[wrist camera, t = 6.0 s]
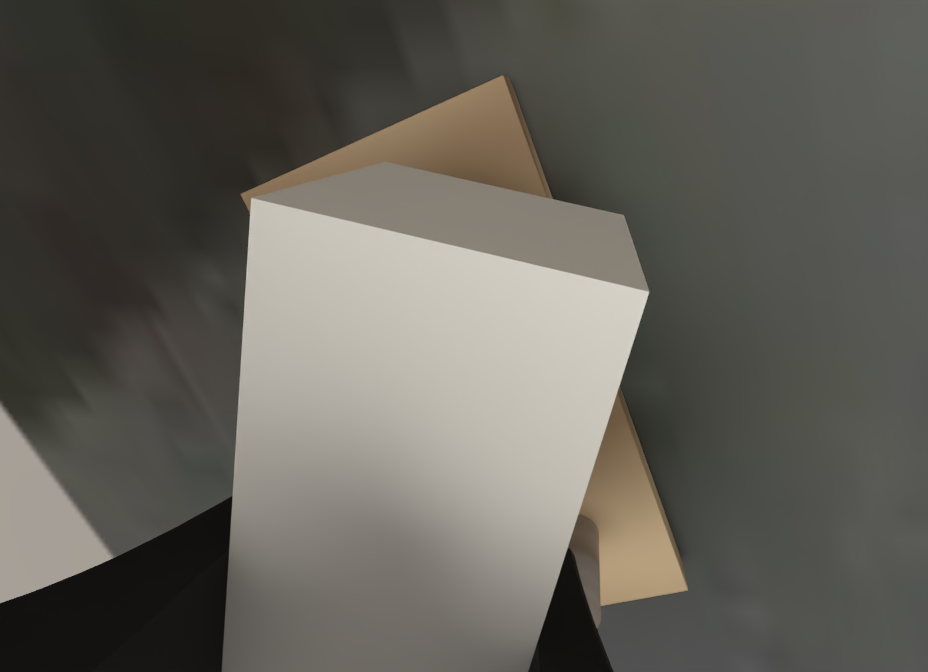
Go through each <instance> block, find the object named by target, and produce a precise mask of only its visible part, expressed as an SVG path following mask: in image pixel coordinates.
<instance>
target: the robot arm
mask: <svg viewBox="0 0 928 672" xmlns="http://www.w3.org/2000/svg"><path fill="white" fill-rule="evenodd" d="M232 498H233V496H231V497H230V498H228V499H226V500H224V501H223V502H221V503H219V504H217V505H216V506H214V507H212V508H210V509H209V510H207V511H205V512H203V513H201V514H199V515H198V516H196V517H194V518H192V519H190V520H188V521H187V522H185V523H183V524H181V525H179V526H178V527H176V528H174V529H172V530H170V531H168V532H166V533H164V534H162V535H160V536H158V537H156V538H154V539H152V540H150V541H148V542H146V543H144V544H142V545H140V546H138V547H136V548H134V549H132V550H130V551H128V552H126V553H124V554H122V555H120V556H117V557H115V558H113V559H111V560H109V561H106V562H104V563H102V564H100V565H98V566H95V567H93V568H91V569H88V570H86V571H84V572H81V573H79V574H77V575H74V576H72V577H69V578H66V579H64V580H62V581H59V582H57V583H54V584H52V585H49V586H47V587H44V588H42V589H39V590H36V591H34V592H31V593H29V594H26V595H23V596H20V597H17V598H14V599H11V600H9V601H6V602H3V603H0V672H222V658H223V642H224V626H225V610H226V594H227V578H228V562H229V546H230V530H231V514H232ZM528 672H613V670H612V667H611V664H610V662H609V659H608V657H607V654H606V652H605V649H604V646H603V644H602V641H601V639H600V636H599V633H598V631H597V628H596V625H595V622H594V620H593V617H592V614H591V611H590V608H589V605H588V602H587V599H586V595H585V592H584V589H583V586H582V582H581V579H580V575H579V571H578V568H577V564H576V559H575V556H574V554H573V552H572V551H571V549H570V548H567V552H566V555H565V558H564V561H563V564H562V567H561V570H560V574H559V577H558V580H557V583H556V586H555V589H554V592H553V595H552V599H551V602H550V605H549V608H548V611H547V614H546V617H545V621H544V624H543V627H542V630H541V633H540V636H539V639H538V642H537V646H536V649H535V652H534V655H533V658H532V661H531V664H530V668H529V671H528Z"/></svg>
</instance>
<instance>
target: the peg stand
mask: <svg viewBox="0 0 928 672" xmlns="http://www.w3.org/2000/svg"><path fill="white" fill-rule="evenodd" d="M383 162H389V163H394V164H398V165H402V166H407V167H411V168H416V169H420V170H425V171H429V172H434V173H438V174H443V175H447V176H452V177H456V178H461V179H465V180H469V181H474V182H478V183H483V184H487V185H492V186H496V187H501V188H505V189H510V190H514V191H519V192H523V193H527V194H532V195H536V196H541V197H545V198H550V199H553V198H552V195H551V192H550V189H549V187H548V184H547V181H546V178H545V175H544V173H543V170H542V167H541V164H540V161H539V159H538V156H537V153H536V150H535V147H534V145H533V142H532V139H531V136H530V133H529V131H528V128H527V125H526V122H525V119H524V117H523V114H522V111H521V108H520V105H519V103H518V100H517V97H516V94H515V91H514V89H513V86H512V83H511V80H510V78H509V77H507V76H504V75H502V76H500V77H498V78H496V79H493V80H491V81H489V82H487V83H484V84H482V85H480V86H478V87H476V88H473V89H471V90H469V91H467V92H465V93H462V94H460V95H458V96H456V97H454V98H451V99H449V100H447V101H445V102H443V103H440V104H438V105H436V106H434V107H432V108H429V109H427V110H425V111H423V112H421V113H418V114H416V115H414V116H412V117H410V118H407V119H405V120H403V121H401V122H399V123H396V124H394V125H392V126H390V127H388V128H385V129H383V130H381V131H379V132H376V133H374V134H372V135H370V136H368V137H365V138H363V139H361V140H359V141H357V142H354V143H352V144H350V145H348V146H346V147H343V148H341V149H339V150H337V151H335V152H332V153H330V154H328V155H326V156H324V157H321V158H319V159H317V160H315V161H313V162H310V163H308V164H306V165H304V166H302V167H299V168H297V169H295V170H293V171H291V172H288V173H286V174H284V175H282V176H280V177H277V178H275V179H273V180H271V181H269V182H266V183H264V184H262V185H260V186H257V187H255V188H253V189H251V190H249V191H246V192H244V193H242V194H241V196H242V198H243V200H244V202H245V204H246V206H247V208H248V210H249V212H250V209H251V198H253V197H257V196H260V195H264V194H268V193H272V192H275V191H279V190H283V189H287V188H290V187H294V186H298V185H301V184H305V183H309V182H313V181H316V180H320V179H324V178H327V177H331V176H335V175H339V174H342V173H346V172H350V171H353V170H357V169H361V168H365V167H368V166H372V165H376V164H379V163H383ZM568 548H570V549H571V551H572V552H573V554H574V556H575V559H576V564H577V568H578V571H579V575H580V579H581V582H582V586H583V589H584V592H585V595H586V599H587V602H588V605H589V608H590V611H591V614H592V617H593V620H594V622H595V625H596V628H598V627H599V625H600V622H601V606H603V605H608V604H614V603H620V602H625V601H631V600H636V599H642V598H648V597H653V596H659V595H664V594H670V593H676V592H681V591H687V590H688V587H687V583H686V578H685V573H684V568H683V563H682V559H681V557H680V554H679V551H678V548H677V545H676V543H675V540H674V537H673V534H672V531H671V529H670V526H669V523H668V520H667V517H666V515H665V512H664V509H663V506H662V503H661V500H660V498H659V495H658V492H657V489H656V486H655V484H654V481H653V478H652V475H651V472H650V470H649V467H648V464H647V461H646V458H645V456H644V453H643V450H642V447H641V444H640V442H639V439H638V436H637V433H636V430H635V428H634V425H633V422H632V419H631V416H630V414H629V411H628V408H627V405H626V402H625V400H624V397H623V394H622V391H621V388H620V386H619V389H618V392H617V395H616V398H615V401H614V404H613V408H612V411H611V414H610V417H609V420H608V423H607V426H606V429H605V433H604V436H603V439H602V442H601V445H600V448H599V451H598V455H597V458H596V461H595V464H594V467H593V470H592V473H591V476H590V480H589V483H588V486H587V489H586V492H585V495H584V498H583V501H582V505H581V508H580V511H579V514H578V517H577V520H576V523H575V527H574V530H573V533H572V536H571V539H570V542H569V545H568Z"/></svg>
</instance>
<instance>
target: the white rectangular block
mask: <svg viewBox="0 0 928 672" xmlns="http://www.w3.org/2000/svg"><path fill="white" fill-rule="evenodd" d="M648 295H649V289H648V286H647V283H646V280H645V277H644V274H643V271H642V268H641V265H640V262H639V259H638V256H637V253H636V250H635V247H634V244H633V241H632V238H631V235H630V232H629V229H628V226H627V223H626V220H625V217H624V215H621V214H617V213H612V212H608V211H603V210H599V209H594V208H590V207H586V206H581V205H577V204H572V203H568V202H563V201H559V200H554V199H550V198H545V197H541V196H536V195H532V194H527V193H523V192H519V191H514V190H510V189H505V188H501V187H496V186H492V185H487V184H483V183H478V182H474V181H469V180H465V179H461V178H456V177H452V176H447V175H443V174H438V173H434V172H429V171H425V170H420V169H416V168H411V167H407V166H402V165H398V164H394V163H389V162H383V163H379V164H376V165H372V166H368V167H365V168H361V169H357V170H353V171H350V172H346V173H342V174H339V175H335V176H331V177H327V178H324V179H320V180H316V181H313V182H309V183H305V184H301V185H298V186H294V187H290V188H287V189H283V190H279V191H275V192H272V193H268V194H264V195H260V196H257V197H253V198H251V209H250V225H249V241H248V257H247V273H246V289H245V305H244V321H243V337H242V353H241V369H240V385H239V401H238V417H237V433H236V449H235V466H234V482H233V498H232V514H231V530H230V546H229V562H228V578H227V594H226V610H225V626H224V642H223V658H222V672H528V671H529V668H530V664H531V661H532V658H533V655H534V652H535V649H536V646H537V642H538V639H539V636H540V633H541V630H542V627H543V624H544V621H545V617H546V614H547V611H548V608H549V605H550V602H551V599H552V595H553V592H554V589H555V586H556V583H557V580H558V577H559V574H560V570H561V567H562V564H563V561H564V558H565V555H566V552H567V548H568V545H569V542H570V539H571V536H572V533H573V530H574V527H575V523H576V520H577V517H578V514H579V511H580V508H581V505H582V501H583V498H584V495H585V492H586V489H587V486H588V483H589V480H590V476H591V473H592V470H593V467H594V464H595V461H596V458H597V455H598V451H599V448H600V445H601V442H602V439H603V436H604V433H605V429H606V426H607V423H608V420H609V417H610V414H611V411H612V408H613V404H614V401H615V398H616V395H617V392H618V389H619V386H620V382H621V379H622V376H623V373H624V370H625V367H626V364H627V361H628V357H629V354H630V351H631V348H632V345H633V342H634V339H635V335H636V332H637V329H638V326H639V323H640V320H641V317H642V314H643V310H644V307H645V304H646V301H647V298H648Z"/></svg>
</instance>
